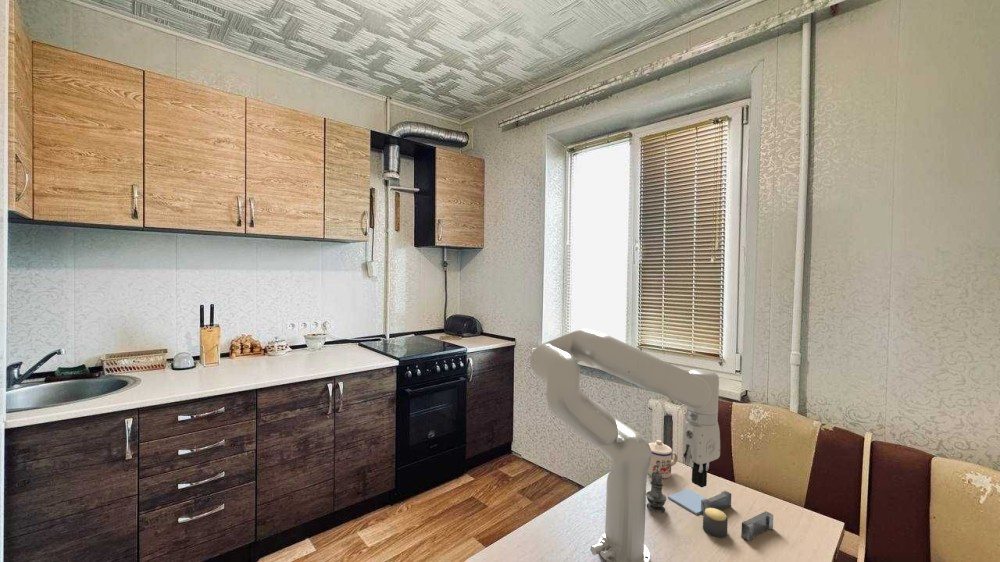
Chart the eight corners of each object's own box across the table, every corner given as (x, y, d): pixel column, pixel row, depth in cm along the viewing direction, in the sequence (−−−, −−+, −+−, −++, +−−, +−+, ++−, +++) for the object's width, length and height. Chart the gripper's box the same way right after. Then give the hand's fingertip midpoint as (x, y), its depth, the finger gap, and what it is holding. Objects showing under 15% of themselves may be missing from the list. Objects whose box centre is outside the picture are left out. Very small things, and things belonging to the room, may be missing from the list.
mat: (696, 515, 118) (696, 513, 118) (667, 497, 127) (667, 496, 127) (716, 506, 123) (716, 504, 123) (687, 490, 132) (687, 488, 132)
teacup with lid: (653, 480, 138) (654, 446, 137) (639, 467, 147) (640, 436, 146) (684, 478, 140) (685, 445, 139) (669, 465, 148) (670, 434, 148)
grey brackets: (748, 541, 107) (749, 526, 107) (700, 513, 119) (701, 500, 119) (772, 528, 113) (773, 514, 112) (724, 503, 125) (725, 490, 125)
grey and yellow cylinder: (718, 540, 107) (719, 522, 107) (698, 527, 112) (698, 510, 112) (731, 534, 110) (732, 516, 110) (711, 522, 115) (711, 505, 115)
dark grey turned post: (668, 514, 118) (669, 475, 117) (647, 512, 119) (648, 472, 119) (664, 503, 123) (665, 465, 123) (644, 501, 125) (645, 463, 124)
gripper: (696, 426, 99) (693, 498, 100) (732, 417, 107) (729, 484, 107) (671, 416, 106) (668, 484, 106) (705, 408, 113) (703, 472, 114)
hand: (699, 484), depth 107 cm, fingers closed
